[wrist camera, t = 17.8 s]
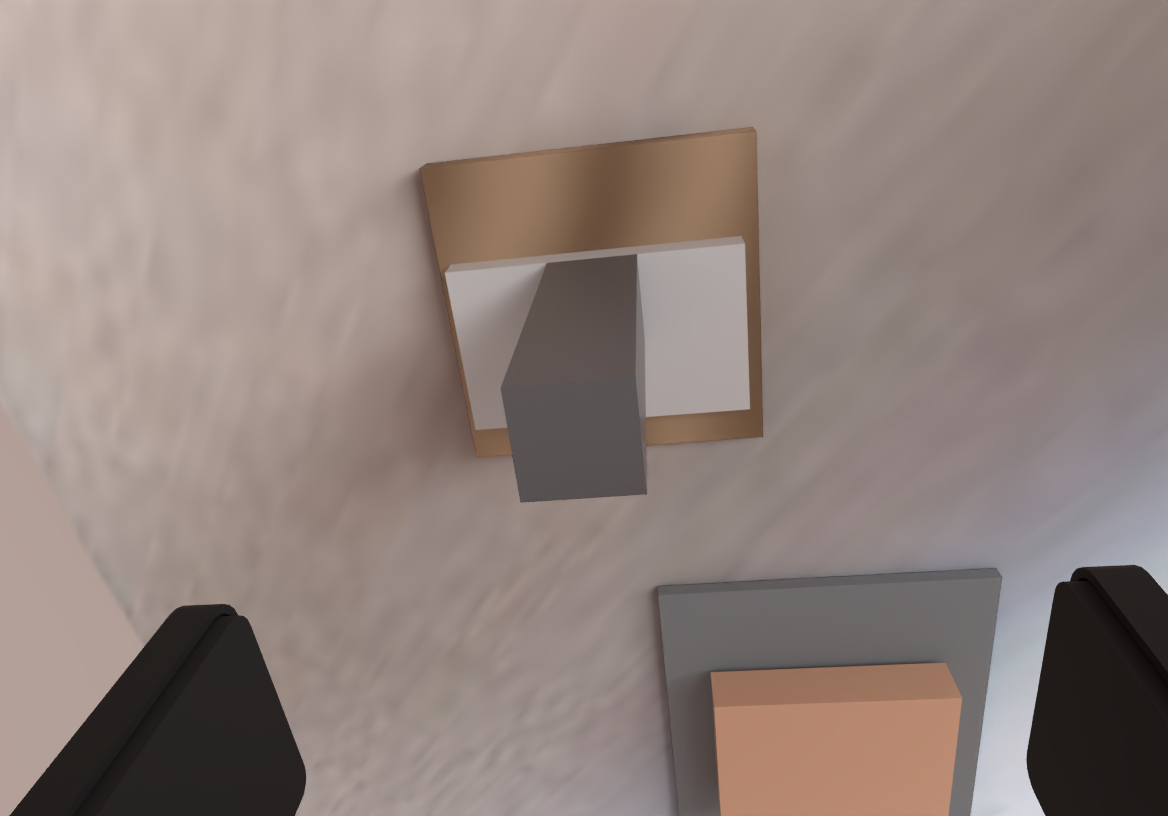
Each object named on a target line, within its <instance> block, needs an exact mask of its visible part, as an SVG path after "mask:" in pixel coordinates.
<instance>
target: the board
mask: <svg viewBox="0 0 1168 816" xmlns="http://www.w3.org/2000/svg"><path fill="white" fill-rule="evenodd" d="M420 173H421V178H422V183H423V188H424V193H425V198H426V203H427V208H428V213H429V218H430V224H431V229H432V234H433V239H434V244H435V249H436V254H437V259H438V264H439V269H440V274H441V279H442V284H443V289H444V294H445V299H446V304H447V309H448V314H449V320H450V325H451V330H452V335H453V340H454V345H455V350H456V355H457V360H458V365H459V370H460V375H461V380H462V385H463V390H464V395H465V400H466V405H467V410H468V416H469V421H470V426H471V431H472V436H473V441H474V446H475V451H476V456H477V457H488V456H502V455H512V450H511V445H510V439H509V434H508V428H496V429H483V430H475V425H474V419H473V414H472V409H471V404H470V399H469V394H468V389H467V384H466V379H465V374H464V369H463V363H462V358H461V353H460V348H459V343H458V338H457V333H456V328H455V323H454V318H453V313H452V308H451V302H450V297H449V292H448V287H447V282H446V277H445V272H446V270H447V269H448V268H449V266H450V265H452V264H462V263H472V262H482V261H492V260H502V259H513V258H523V257H533V256H543V255H553V254H563V253H573V252H584V251H594V250H604V249H614V248H624V247H634V246H644V245H654V244H665V243H675V242H685V241H695V240H705V239H715V238H725V237H735V236H742V238H743V240H744V243H745V263H746V295H747V328H748V360H749V393H750V409H746V410H733V411H720V412H707V413H693V414H680V415H667V416H654V417H646V445H656V444H670V443H684V442H698V441H712V440H726V439H740V438H754V437H763V410H762V364H761V319H760V274H759V229H758V184H757V138H756V130H755V129H754V128H753V127H751V128H742V129H733V130H724V131H715V132H706V133H697V134H688V135H679V136H670V137H661V138H652V139H643V140H634V141H625V142H616V143H607V144H598V145H589V146H580V147H572V148H563V149H554V150H545V151H536V152H527V153H518V154H509V155H500V156H491V157H482V158H473V159H464V160H455V161H446V162H437V163H428V164H426V165H424V166H423V167H421V168H420Z"/></svg>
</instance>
